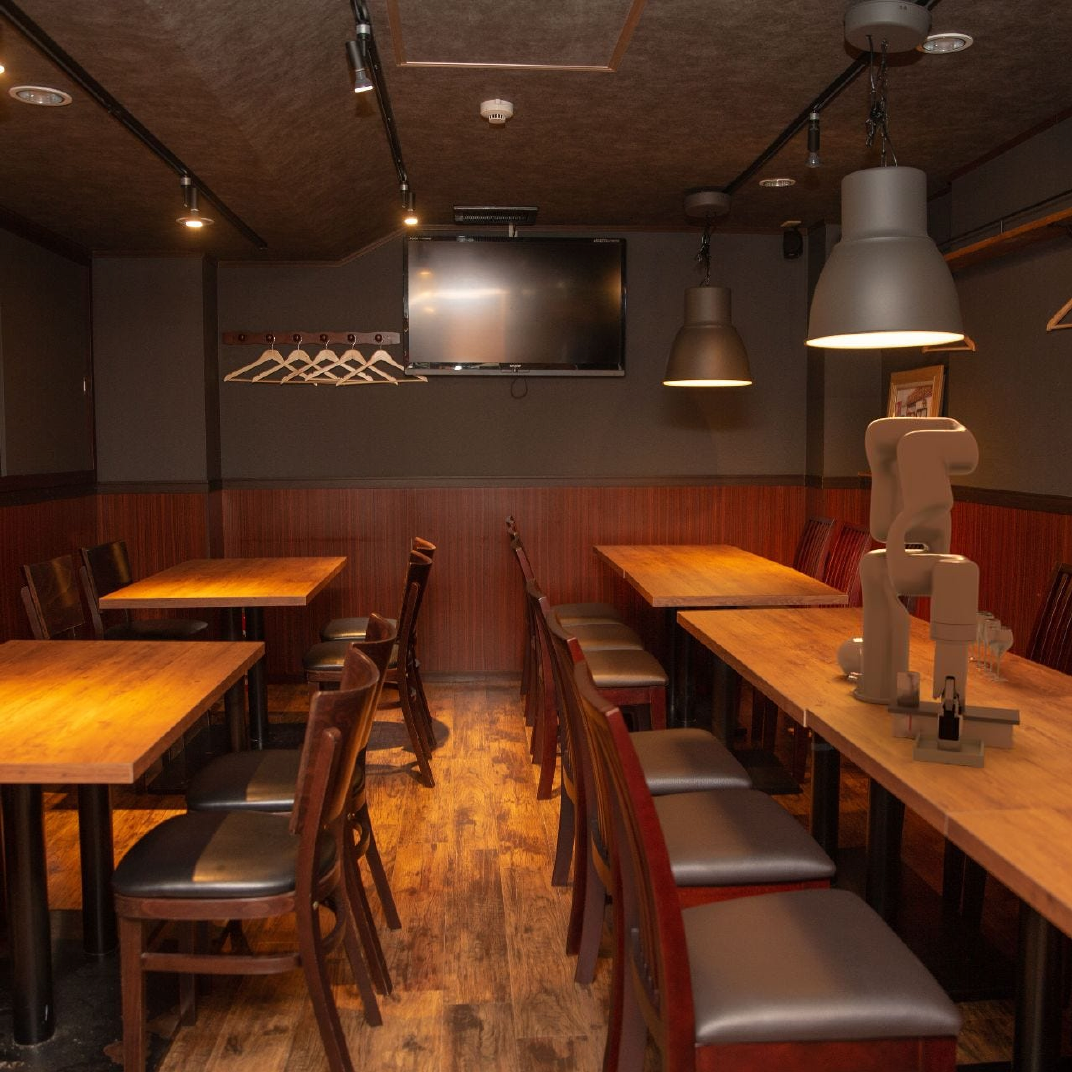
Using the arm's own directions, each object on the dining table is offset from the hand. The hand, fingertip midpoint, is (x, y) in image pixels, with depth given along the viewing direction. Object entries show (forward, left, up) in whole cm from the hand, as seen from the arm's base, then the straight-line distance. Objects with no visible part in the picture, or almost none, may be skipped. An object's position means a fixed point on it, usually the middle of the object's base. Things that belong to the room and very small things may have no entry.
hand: (949, 733), depth 181 cm
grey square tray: (0, 0, -4) cm, 4 cm away
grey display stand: (-6, +11, -4) cm, 13 cm away
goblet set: (-36, +71, -4) cm, 80 cm away
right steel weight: (0, 0, -3) cm, 3 cm away
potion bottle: (-47, +42, -4) cm, 63 cm away
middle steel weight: (-6, +11, +1) cm, 12 cm away
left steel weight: (-13, +7, +1) cm, 15 cm away
